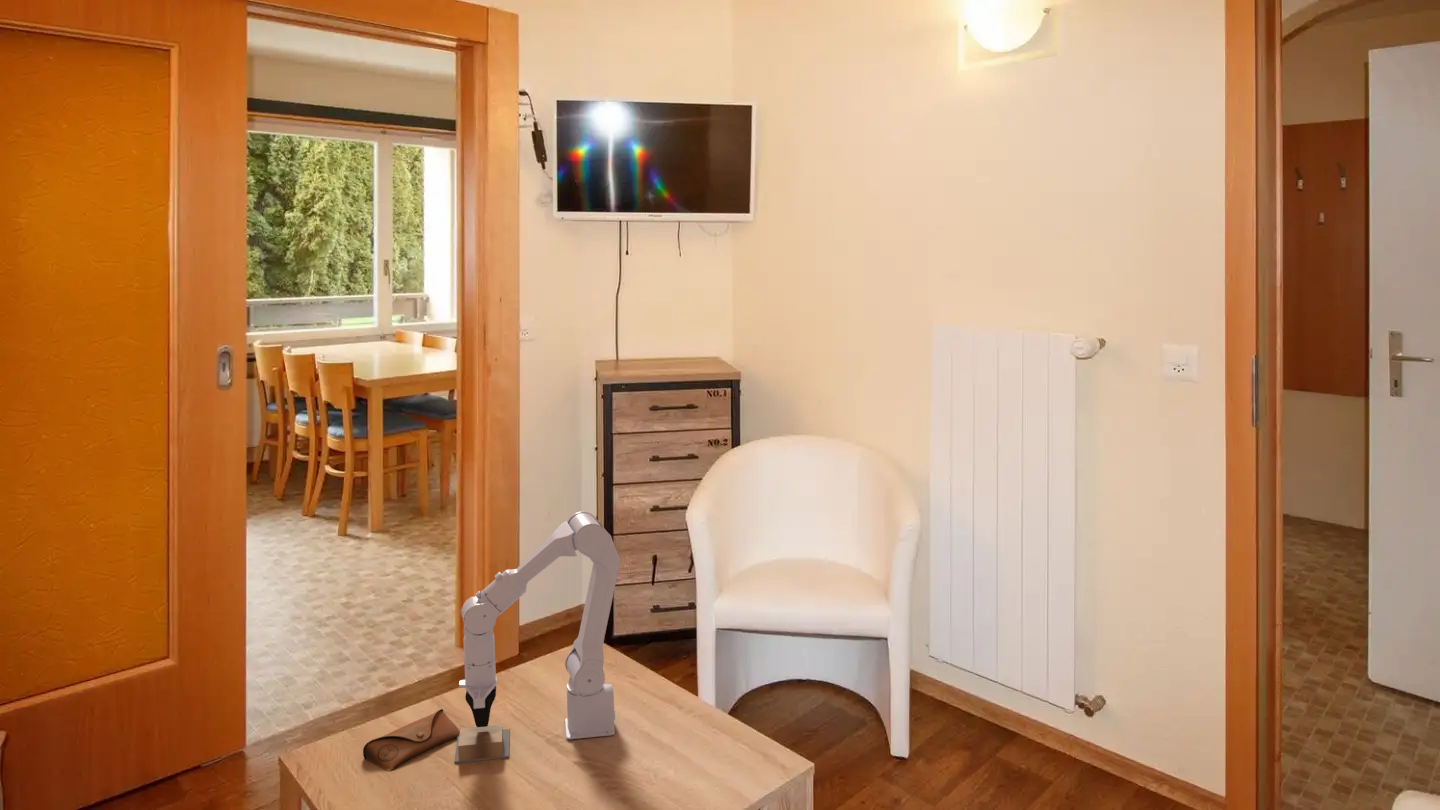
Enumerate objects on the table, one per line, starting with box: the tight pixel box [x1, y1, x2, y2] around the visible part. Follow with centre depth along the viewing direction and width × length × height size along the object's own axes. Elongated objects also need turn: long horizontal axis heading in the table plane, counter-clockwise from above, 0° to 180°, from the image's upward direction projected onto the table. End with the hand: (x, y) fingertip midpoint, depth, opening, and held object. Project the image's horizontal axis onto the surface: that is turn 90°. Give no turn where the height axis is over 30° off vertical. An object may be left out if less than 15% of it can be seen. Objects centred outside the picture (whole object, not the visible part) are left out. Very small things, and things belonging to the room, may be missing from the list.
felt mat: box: [453, 728, 511, 764], centre depth 177 cm, size 10×10×1 cm
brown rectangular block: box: [458, 724, 504, 761], centre depth 175 cm, size 8×3×6 cm
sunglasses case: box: [362, 708, 460, 772], centre depth 178 cm, size 18×7×7 cm, turn 143°
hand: (482, 725), depth 177 cm, fingers closed
